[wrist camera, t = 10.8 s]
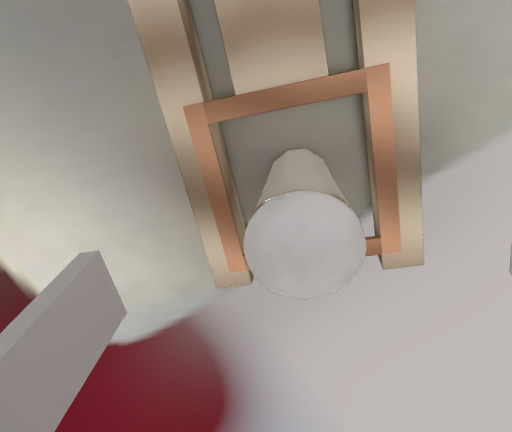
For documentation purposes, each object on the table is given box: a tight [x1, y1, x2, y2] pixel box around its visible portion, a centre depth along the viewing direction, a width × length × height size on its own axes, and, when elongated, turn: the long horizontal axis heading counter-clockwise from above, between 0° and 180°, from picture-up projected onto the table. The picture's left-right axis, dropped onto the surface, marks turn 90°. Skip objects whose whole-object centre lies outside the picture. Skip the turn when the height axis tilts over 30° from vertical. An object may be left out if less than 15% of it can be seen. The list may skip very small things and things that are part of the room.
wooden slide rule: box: [127, 0, 424, 288], centre depth 17 cm, size 28×12×2 cm, turn 12°
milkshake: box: [243, 149, 366, 300], centre depth 17 cm, size 4×5×10 cm
